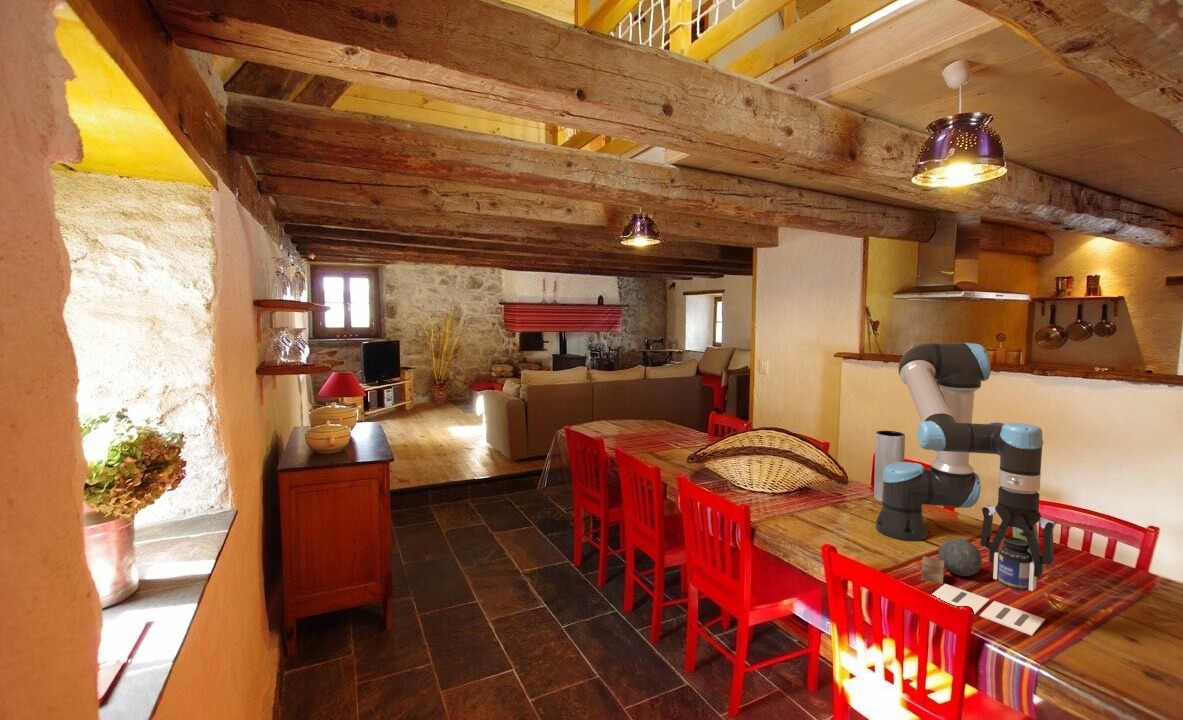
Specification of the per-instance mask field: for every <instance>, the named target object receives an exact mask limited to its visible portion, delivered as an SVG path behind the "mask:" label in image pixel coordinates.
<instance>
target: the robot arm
mask: <svg viewBox="0 0 1183 720" xmlns="http://www.w3.org/2000/svg"><path fill="white" fill-rule="evenodd" d="M991 367H992V366H991V361H990V357H989V354H988V351H987V350H986V348H985V347H984V346H983V345H981V344H978V343H973V342H942V343H940V342H939V343H938V342H937V343H936V342H934V343H932V342H925V343H921V344H918V345H915V346H913V347H911V348H910V349H908V350H907V351H906V352H905V353H904V354H903V355H902V357H901V358H900V361H899V364H898V375H899V378H900V379H901V381H902V383H904V384H905V385H906V386H907V387H908V390H909V393H910V396H911V399H912V400H913V402H914V405H915V409H916V411H917V413H918V414H917V415H918V416H919V419H920V422H919V423H918V426H917V430H916V435H917V436H916V437H917V442H918V445H919V447H920V448H921V449H923V450H928V451H929V450H930V451H936V459H934V460H933V461H931V462H930V468H924V466H923V465H922V464H921V463H918V462H910V461H904V462H898V463H892V464H889V465H887V466H886V467H885V468H884V472H883V478H882V480H883V497H882V502H881V508H880V511H879V513H878V515H877V517H876V519H875V529H876V530H877V532H879V533H880V534H882V535H884V536H887V537H890V538H893V539H897V540H901V541H910V542H911V541H913V542H916V541H924V540H925V539H927V538H928V532H929V531H928V526H927V524H926V521H925V517H924V515H923V505H927V506H928V505H930V506H937V507H938V506H939V507H949V508H955V509H959V508H962V509H965V508H966V509H969V508H972V507H974V506H975V505H976V504H977V503H978V501H979V498H980V495H981V488H982V487H981V478H980V477H979V475H978V474H977V473H976V472H974V471H975V469H974V468H973V466H971V465H970V464H969V463H970V462H969V460H970V454H973V453H974V454H988V455H989V454H991V455H998V456H999V472H998V474H999V477H998V483H999V484H998V485H1000V486H999V487H998V494H997V496H998V497H997V505H995V506H990V505H985V506H983V507H982V508H981V512H982V515H983V521H982V527H981V528H982V529H981V535H980V542H979V543H980V546H982V547H985V548H986V549H988V551H989V554H988V555H989V556H988V562H989V564H991V565H992V564H993V575H992V579H993V580H998V571H999V551H1000V545H1001V543H1002V541H1003V540H1004V538H1005V537H1006V536H1005V535H1006V533H1007V532H1008V530H1009V527H1010V528H1012V527H1016V528H1019V529H1021V530H1023V532H1024V534H1025V536H1026V539H1027V542H1028V545H1029V548H1030V551H1031V554H1032V562H1030V570H1029V590H1028V591H1030V592H1033V591H1034V590H1035V589H1037V578H1039V579H1040V578H1041V577H1042V576H1043V572H1044V571H1043V570H1044V565H1048V566H1050V565H1052V564H1053V562H1054V561H1055V557H1054V556H1055V554H1054V552H1055V551H1054V550H1055V549H1054V529H1055V527H1056V525H1057V522H1056V521H1055V520H1052V519H1050V520H1049V519H1046V518H1044V517H1042V514H1041V513H1040V493H1039V492H1040V490H1041V471H1042V457H1043V456H1042V454H1043V445H1044V440H1043V429H1042V428H1041V427H1039V426H1038V425H1035V424H1030V423H1025V422H1024V423H1023V422H1006V423H1005V422H1004V423H1003V422H997V421H991V422H988V423H987V422H986V423H973V413H974V412H973V410H974V402H975V401H974V399H975V392H977V391H978V390H979V389H981V388H982V382H986V381H987V380H989V378H990V375H991ZM996 513H997V515H998V517H1000V519H1001V523H1000V525H999V527H998V529H997V532H996V533H995V535H994V537H993V539H992V541H991V534H992V528H993V520H994V516H995V515H996ZM1037 523H1040V527H1041V528H1042V529H1043V531H1042V537H1043V538H1042V539H1043V541H1042V543H1043V553H1042V550H1041V548H1040V547H1039V546H1040V543H1039V544H1038V541H1037V538H1036V535H1035V530H1034V527H1033V525H1034V524H1036V525H1037Z"/></svg>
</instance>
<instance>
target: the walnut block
mask: <svg viewBox="0 0 1183 720" xmlns="http://www.w3.org/2000/svg"><path fill="white" fill-rule="evenodd" d="M921 559H922V560H921V571H920V572H921V573H920V574H921V577H920V580H921V581H923V580H926V581H925V582H927V581H931V582H935V583H939V584H938V585H940V584H943V585H944V579H943V578H944V576H945V567H944V561H943V560H940V559H938V558H932V557H928V556H925V555H924V556H923V555H922V558H921ZM931 582H930V583H931ZM935 583H934V584H935Z"/></svg>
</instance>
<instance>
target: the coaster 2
mask: <svg viewBox="0 0 1183 720" xmlns="http://www.w3.org/2000/svg"><path fill="white" fill-rule="evenodd" d="M979 617H982V618H984V619H987V620H989V621H992V622H994V623H997V624H1000V625H1002V626H1004V627H1008V628H1009V629H1010V628H1011V629H1013V630H1016V631H1018V632H1021V633H1023V634H1027V635H1029V636H1031V637H1033V636H1034V635H1035V634H1036V632H1037V631H1038V630H1039V628H1040V627H1041V626H1042V624H1044V622H1045V621H1046V619H1045V618H1044V617H1040V616H1038V615H1035V614H1033V613H1029V612H1027V611H1024V610H1021V609H1018V608H1015V607H1012V606H1009V605H1007V604H1004V603H1002V602H998V601H996V600H994V601H993V602H991V604H989V606H987V607H986V608H985V609H984V610H983V611H982V612H981V613H980V614H979Z"/></svg>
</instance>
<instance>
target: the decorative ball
mask: <svg viewBox="0 0 1183 720" xmlns="http://www.w3.org/2000/svg"><path fill="white" fill-rule="evenodd" d="M938 558H939V560H943V561H944V569H946V570H947V571H948V572H951V573H952V574H953V575H957V576H960V577H969V576H973V575H975V574H977V573H978V572H979V571H980V569H981V567H982V566H983V565H982V564H983V558H982V554H981V552H980V550H979V549H978V548H977V547H976V546H975V545H974V544H973V543H972V542H970V541H968V540H966V539H963V538H950V539H948V540H947V539H946V540H945V541H944V542H942V544H941V545H940V546H939V550H938Z"/></svg>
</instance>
